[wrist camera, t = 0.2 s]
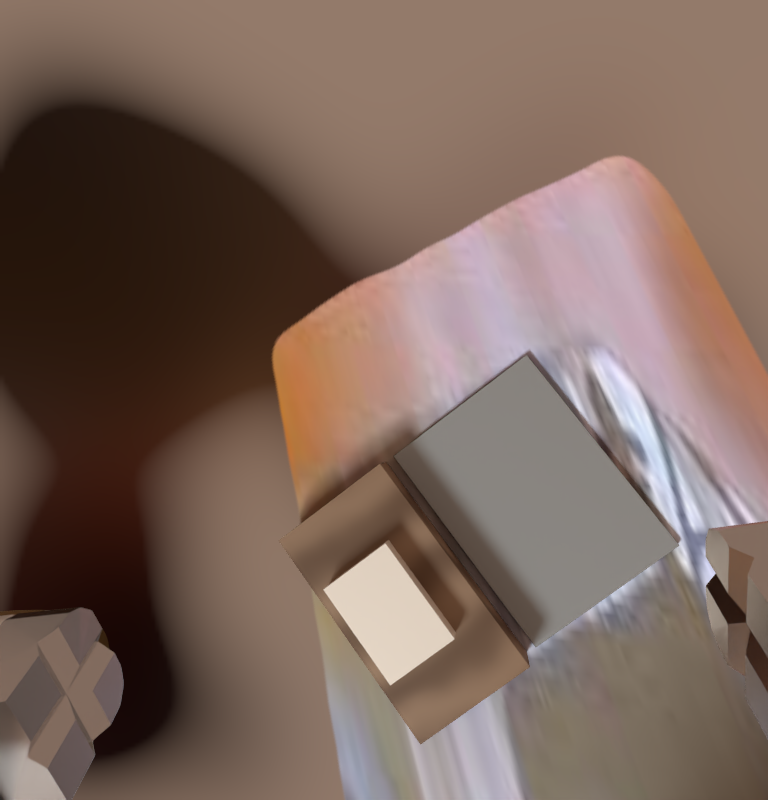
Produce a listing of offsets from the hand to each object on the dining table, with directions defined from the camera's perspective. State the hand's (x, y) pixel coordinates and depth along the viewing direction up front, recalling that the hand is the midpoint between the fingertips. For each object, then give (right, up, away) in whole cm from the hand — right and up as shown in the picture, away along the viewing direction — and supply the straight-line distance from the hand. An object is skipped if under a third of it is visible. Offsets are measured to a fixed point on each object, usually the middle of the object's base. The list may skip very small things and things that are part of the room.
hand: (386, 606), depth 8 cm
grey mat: (+14, -7, +52) cm, 54 cm away
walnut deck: (+2, -16, +53) cm, 56 cm away
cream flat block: (+1, -16, +49) cm, 52 cm away
